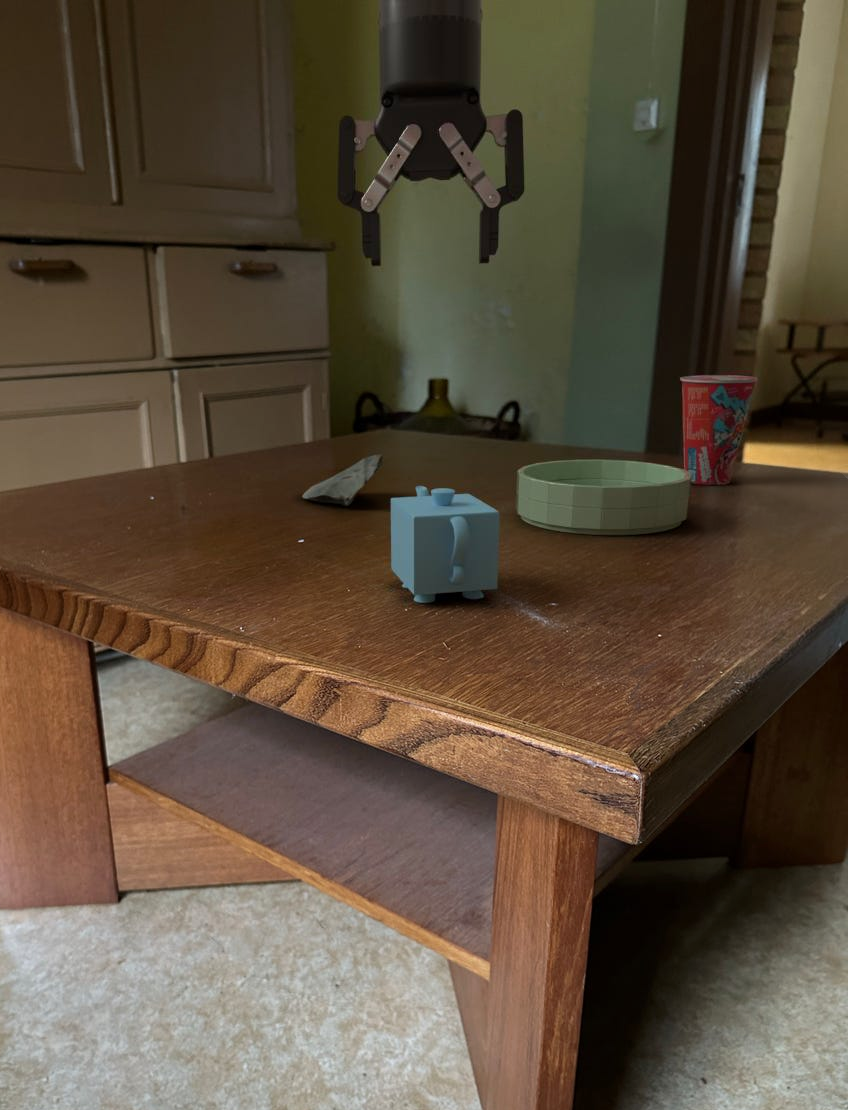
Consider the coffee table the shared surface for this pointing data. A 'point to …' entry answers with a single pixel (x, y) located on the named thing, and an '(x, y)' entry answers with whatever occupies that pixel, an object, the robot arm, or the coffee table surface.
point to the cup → (714, 424)
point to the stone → (345, 482)
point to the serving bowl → (603, 496)
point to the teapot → (444, 544)
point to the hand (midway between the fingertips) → (430, 264)
